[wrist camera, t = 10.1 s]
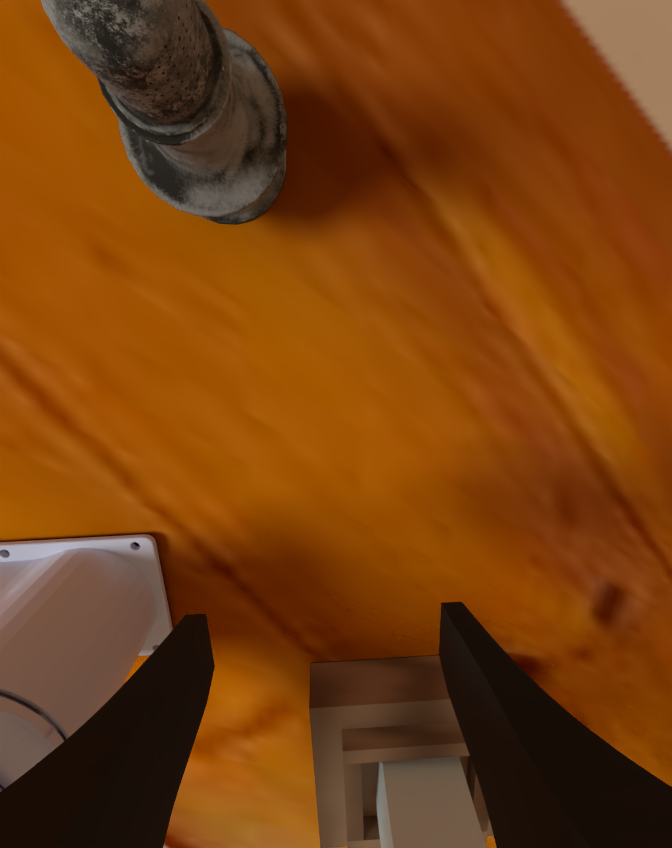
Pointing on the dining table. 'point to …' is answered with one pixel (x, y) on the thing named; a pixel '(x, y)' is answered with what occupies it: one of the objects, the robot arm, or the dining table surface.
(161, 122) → the salt shaker
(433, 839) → the block
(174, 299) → the dining table surface
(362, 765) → the taupe stepped square slab
